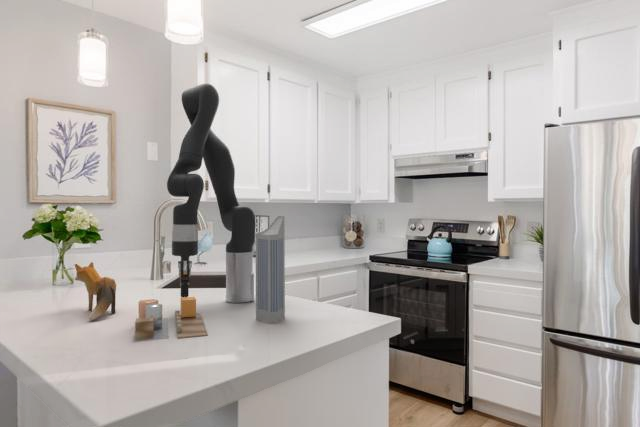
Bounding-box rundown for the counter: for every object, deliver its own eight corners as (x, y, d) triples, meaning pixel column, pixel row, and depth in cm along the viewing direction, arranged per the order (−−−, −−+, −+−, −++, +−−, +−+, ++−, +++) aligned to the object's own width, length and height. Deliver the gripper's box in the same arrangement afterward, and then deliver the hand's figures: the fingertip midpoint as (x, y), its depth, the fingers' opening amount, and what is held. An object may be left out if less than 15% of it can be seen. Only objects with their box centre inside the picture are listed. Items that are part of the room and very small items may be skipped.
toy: (99, 304, 147) (99, 260, 147) (130, 320, 126) (129, 268, 126) (63, 309, 140) (62, 263, 140) (89, 327, 119) (89, 272, 119)
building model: (289, 317, 128) (289, 216, 128) (275, 324, 121) (274, 216, 121) (265, 315, 132) (265, 216, 132) (250, 321, 124) (249, 216, 124)
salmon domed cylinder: (158, 320, 121) (158, 298, 121) (158, 324, 116) (158, 302, 116) (139, 321, 119) (139, 300, 119) (138, 326, 115) (138, 303, 115)
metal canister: (162, 325, 115) (162, 303, 115) (162, 329, 112) (162, 306, 112) (146, 327, 114) (145, 304, 114) (145, 331, 110) (145, 307, 110)
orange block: (180, 314, 126) (180, 297, 125) (195, 313, 127) (195, 296, 127) (181, 317, 122) (181, 300, 122) (196, 316, 123) (196, 299, 123)
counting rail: (174, 320, 125) (174, 309, 125) (200, 318, 128) (200, 307, 128) (177, 343, 104) (177, 329, 104) (207, 340, 106) (207, 327, 106)
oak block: (153, 333, 109) (153, 317, 109) (153, 337, 105) (153, 320, 105) (136, 334, 107) (136, 318, 107) (135, 339, 103) (135, 322, 103)
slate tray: (168, 322, 124) (167, 317, 124) (168, 343, 104) (168, 338, 104) (137, 324, 121) (137, 320, 121) (132, 346, 101) (132, 341, 101)
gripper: (199, 240, 126) (198, 300, 126) (196, 238, 139) (196, 292, 139) (171, 241, 124) (171, 301, 124) (172, 238, 137) (171, 293, 136)
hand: (184, 296), depth 131 cm, fingers closed
